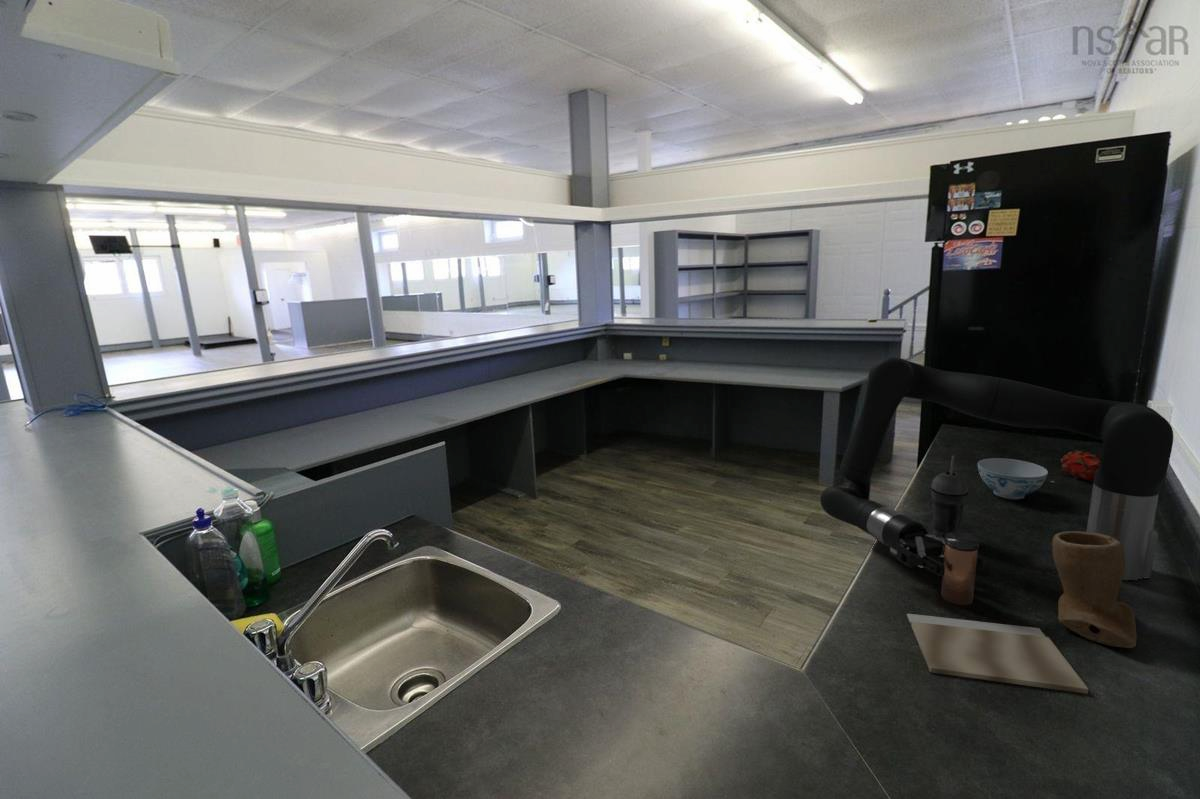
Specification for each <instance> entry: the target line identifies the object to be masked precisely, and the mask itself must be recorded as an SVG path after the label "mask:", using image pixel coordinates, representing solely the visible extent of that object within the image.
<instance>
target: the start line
mask: <svg viewBox="0 0 1200 799" xmlns="http://www.w3.org/2000/svg"><path fill="white" fill-rule="evenodd" d="M906 617H907V618H908V621H909V623H910V624H911V623H912V622H920V623H928V624H937V625H946V626H954V627H963V628H972V629H981V630H989V631H998V632H1007V633H1015V634H1024V635H1033V636H1042V637H1046V635H1045V634H1044V632H1042V630H1041V629H1040V627H1039V628H1038V627H1031V626H1022V625H1012V624H1005V623H1004V624H1003V623H997V622H996V623H994V622H986V621H977V620H967V619H960V618H951V617H950V618H949V617H942V616H941V617H940V616H934V615H933V616H931V615H923V614H916V613H915V614H914V613H906Z"/></svg>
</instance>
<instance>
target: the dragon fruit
mask: <svg viewBox="0 0 1200 799" xmlns="http://www.w3.org/2000/svg"><path fill="white" fill-rule="evenodd" d="M1100 462H1101V456H1097V455H1096V454H1092V453H1091V452H1089V451H1086V452H1084V451H1080V450H1074V451H1069V452H1068V453H1067V454H1064V455H1063V456H1062V458H1061V459H1060V463H1061V467H1060V469H1061V470H1062V471H1065V472H1069V473H1070V474H1071V476H1072V477H1073V478H1074V479H1079V478H1081V479H1083V480H1086V481H1089V483H1094V477H1095V472H1096V470H1097V469H1098V468H1099V466H1100Z"/></svg>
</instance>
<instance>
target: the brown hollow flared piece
mask: <svg viewBox="0 0 1200 799" xmlns="http://www.w3.org/2000/svg"><path fill="white" fill-rule="evenodd" d="M1052 557H1053V562H1054V565H1055V568H1056V570H1057V573H1058V576H1059V580H1060V582H1061V586H1062V589H1063V593H1062V594H1061V595H1060V597H1058V604H1057V606H1058V607H1057V609H1058V616H1057V619H1058V622H1059V623H1060V624H1062V625H1063V626H1065V627H1067V628H1068V629H1070V630H1071V631H1072V632H1074V633H1076V634H1078V635H1079V636H1080V637H1081V636H1082V638H1084V639H1087V640H1089V641H1092V642H1096V643H1098V644H1101V645H1102V644H1103V645H1106V646H1111V647H1115V648H1116V647H1117V648H1125V649H1133V648H1135V647H1136V645H1137V628H1136V627H1137V626H1136V618H1135V614H1134V612H1133V609H1132V607H1130V606H1129V605H1128V604H1126V603H1124V602H1122V601H1118V600H1117V599H1118V594H1119V592H1120V591H1119V590H1120V588H1121V585H1122V582H1123V581H1124V580H1123V578H1124V574H1125V552H1124V548H1123V546H1122V544H1121V543H1120V542H1119V541H1118V540H1116V539H1114V538H1112V537H1110V536H1107V535H1103V534H1098V533H1088V532H1086V531H1080V530H1079V531H1078V530H1077V531H1076V530H1075V531H1072V530H1071V531H1070V530H1069V531H1068V530H1067V531H1062V532H1058V533H1056V534H1054V536H1053V537H1052Z"/></svg>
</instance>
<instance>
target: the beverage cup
mask: <svg viewBox="0 0 1200 799" xmlns="http://www.w3.org/2000/svg"><path fill="white" fill-rule="evenodd" d="M955 456H956V455H951V462H950V470H949V471H944V472H941V473H939V474H937V476H935V477H934V478H933V479H932V482H931V485H930V494H931V498H932V532H933V535H934V536H937V537H941V536H942V533H943V532H946V533H950V532H960V531H959V530H960V526H961V523H962V518H963V513H964V508H965V503H966V502H967V501H966V500H967V498H968V495H969V487H968V484H967V482H966V480H965V478H963V476H961V475H960V474H958V473H957V472H954V464H955Z"/></svg>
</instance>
